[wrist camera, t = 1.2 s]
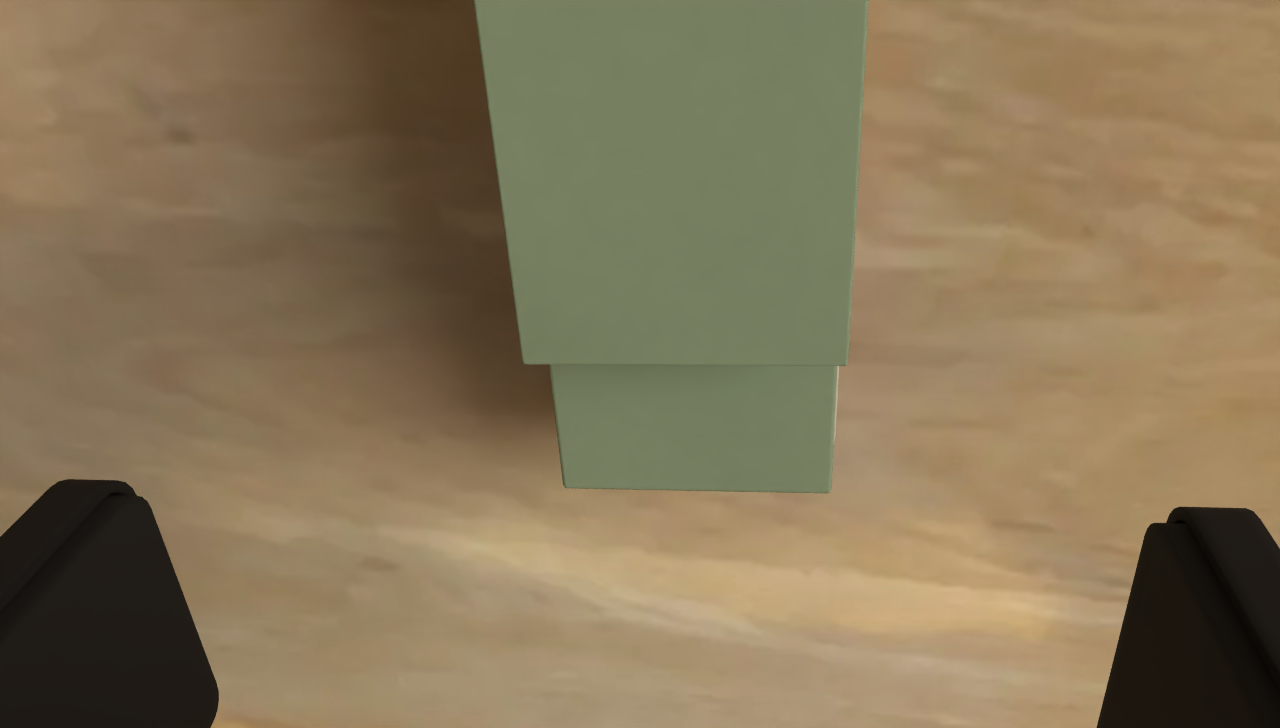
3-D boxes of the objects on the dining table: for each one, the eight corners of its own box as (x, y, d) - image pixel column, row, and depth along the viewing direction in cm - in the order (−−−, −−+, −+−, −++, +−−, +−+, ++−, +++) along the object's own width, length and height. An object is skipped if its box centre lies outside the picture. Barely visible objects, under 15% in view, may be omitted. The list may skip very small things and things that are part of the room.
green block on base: (504, -322, 18) (406, -350, 13) (869, -349, 18) (912, -390, 13) (580, 410, 27) (537, 566, 22) (831, 412, 26) (848, 575, 21)
